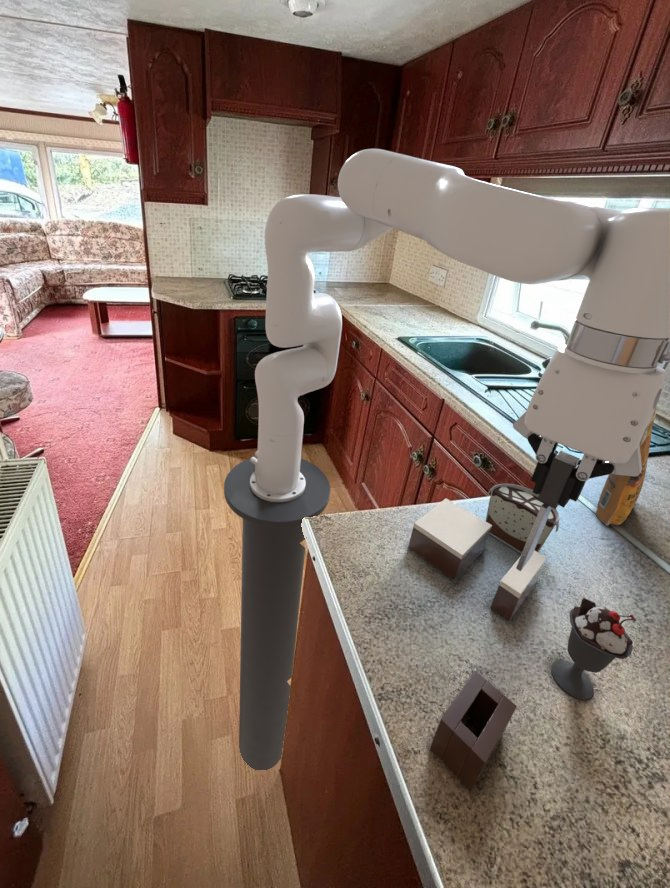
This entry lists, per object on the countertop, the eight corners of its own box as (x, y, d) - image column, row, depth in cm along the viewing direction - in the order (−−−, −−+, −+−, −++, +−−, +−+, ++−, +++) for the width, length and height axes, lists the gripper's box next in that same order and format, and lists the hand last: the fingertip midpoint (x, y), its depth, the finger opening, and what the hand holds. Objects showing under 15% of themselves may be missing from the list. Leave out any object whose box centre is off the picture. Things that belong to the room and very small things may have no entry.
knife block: (429, 748, 47) (440, 718, 44) (463, 699, 52) (474, 670, 49) (470, 792, 43) (485, 763, 41) (502, 735, 48) (517, 705, 46)
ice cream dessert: (554, 550, 76) (573, 508, 72) (541, 566, 72) (560, 523, 68) (491, 513, 84) (504, 474, 80) (476, 525, 81) (489, 485, 77)
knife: (509, 565, 51) (551, 460, 45) (521, 549, 54) (562, 448, 47) (526, 575, 50) (571, 468, 43) (537, 558, 52) (582, 455, 46)
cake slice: (490, 607, 64) (500, 580, 62) (517, 571, 71) (528, 546, 68) (509, 621, 62) (520, 594, 60) (535, 583, 69) (547, 557, 66)
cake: (408, 547, 74) (414, 522, 72) (439, 521, 81) (445, 498, 79) (454, 581, 68) (462, 555, 66) (483, 549, 75) (492, 525, 73)
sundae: (605, 718, 51) (657, 640, 44) (544, 688, 53) (585, 611, 47) (598, 671, 56) (644, 596, 50) (543, 645, 59) (580, 571, 53)
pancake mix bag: (579, 517, 85) (634, 398, 74) (603, 483, 97) (653, 376, 86) (618, 536, 81) (682, 412, 69) (637, 497, 93) (695, 387, 81)
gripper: (726, 363, 37) (641, 518, 45) (539, 321, 47) (496, 453, 55) (720, 381, 32) (627, 552, 40) (515, 330, 42) (471, 474, 50)
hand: (552, 494), depth 47 cm, fingers closed on knife, 2 cm apart
